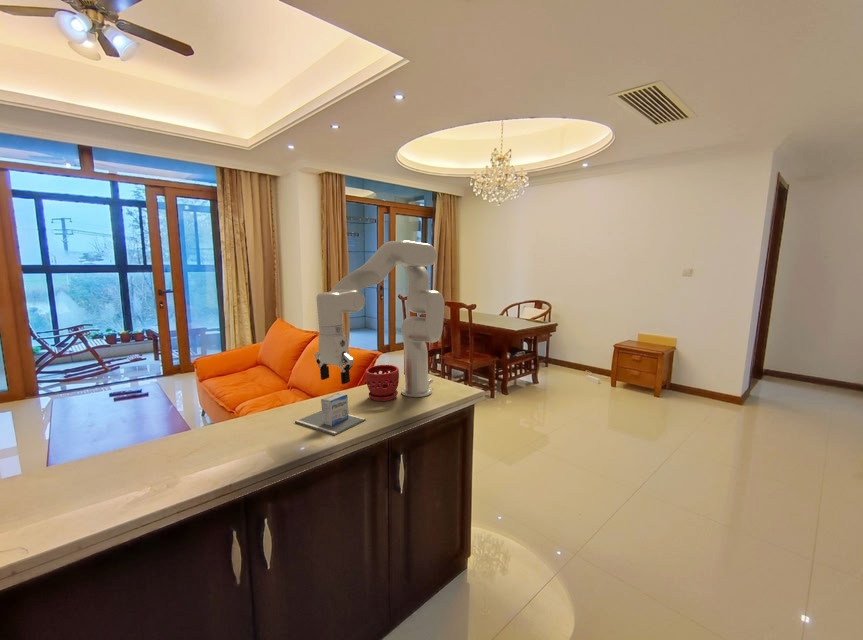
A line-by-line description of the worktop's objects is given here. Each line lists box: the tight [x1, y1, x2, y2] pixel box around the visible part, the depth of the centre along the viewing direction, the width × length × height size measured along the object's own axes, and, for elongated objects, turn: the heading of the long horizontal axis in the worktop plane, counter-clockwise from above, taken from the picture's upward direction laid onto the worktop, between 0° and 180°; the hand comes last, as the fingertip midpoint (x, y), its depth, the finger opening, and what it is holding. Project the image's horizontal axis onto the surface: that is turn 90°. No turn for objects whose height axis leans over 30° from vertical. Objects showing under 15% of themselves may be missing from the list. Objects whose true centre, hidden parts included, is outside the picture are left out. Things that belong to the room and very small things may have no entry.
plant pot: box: [365, 364, 400, 402], centre depth 154 cm, size 13×13×12 cm
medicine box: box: [320, 392, 349, 426], centre depth 130 cm, size 8×4×9 cm, turn 147°
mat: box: [294, 410, 366, 436], centre depth 132 cm, size 14×19×1 cm
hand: (335, 380), depth 129 cm, fingers open, 9 cm apart
